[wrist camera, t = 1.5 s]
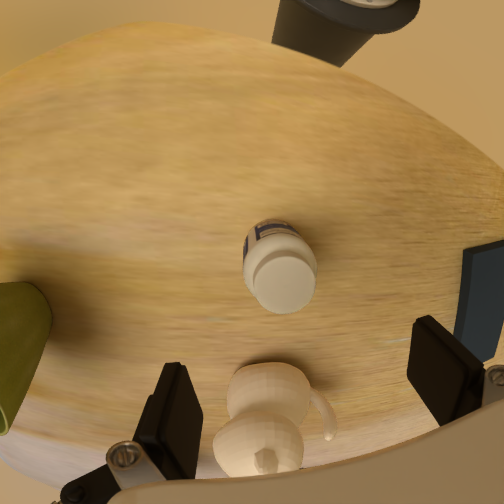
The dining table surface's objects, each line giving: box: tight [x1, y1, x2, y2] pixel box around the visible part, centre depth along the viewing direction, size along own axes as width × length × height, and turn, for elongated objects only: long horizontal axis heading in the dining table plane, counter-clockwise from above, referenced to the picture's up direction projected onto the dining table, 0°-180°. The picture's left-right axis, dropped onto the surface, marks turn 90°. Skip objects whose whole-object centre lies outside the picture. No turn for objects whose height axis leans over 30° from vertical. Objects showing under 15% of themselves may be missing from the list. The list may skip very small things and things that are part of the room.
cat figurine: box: [213, 362, 337, 478], centre depth 25 cm, size 9×12×15 cm
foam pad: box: [453, 240, 504, 363], centre depth 30 cm, size 18×9×2 cm, turn 9°
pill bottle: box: [243, 220, 317, 314], centre depth 23 cm, size 5×5×10 cm
